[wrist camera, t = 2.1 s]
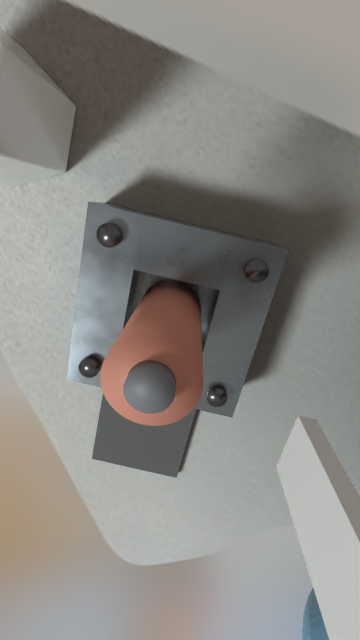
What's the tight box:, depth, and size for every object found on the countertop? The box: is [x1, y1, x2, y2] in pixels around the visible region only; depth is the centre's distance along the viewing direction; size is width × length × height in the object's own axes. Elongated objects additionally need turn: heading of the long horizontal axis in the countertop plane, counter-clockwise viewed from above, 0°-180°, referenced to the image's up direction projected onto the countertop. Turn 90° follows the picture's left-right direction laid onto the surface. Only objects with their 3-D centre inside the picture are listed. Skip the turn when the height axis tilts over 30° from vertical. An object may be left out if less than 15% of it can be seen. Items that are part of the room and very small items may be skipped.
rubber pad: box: [92, 394, 196, 477], centre depth 32 cm, size 9×9×1 cm
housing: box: [67, 202, 289, 417], centre depth 25 cm, size 14×14×5 cm
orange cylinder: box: [100, 280, 203, 426], centre depth 21 cm, size 5×5×13 cm
